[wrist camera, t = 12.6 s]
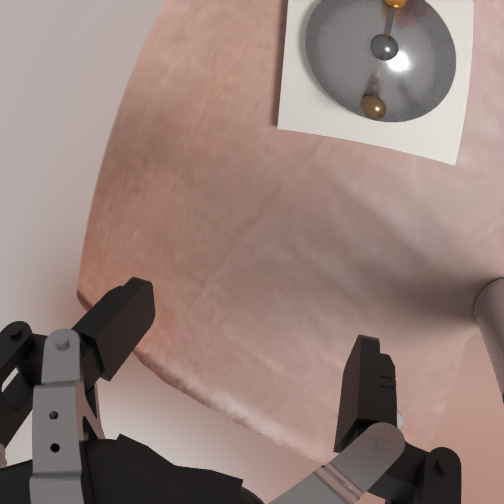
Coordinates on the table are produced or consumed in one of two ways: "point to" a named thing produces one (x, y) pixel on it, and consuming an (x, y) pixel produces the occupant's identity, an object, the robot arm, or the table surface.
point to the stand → (366, 130)
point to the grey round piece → (381, 56)
